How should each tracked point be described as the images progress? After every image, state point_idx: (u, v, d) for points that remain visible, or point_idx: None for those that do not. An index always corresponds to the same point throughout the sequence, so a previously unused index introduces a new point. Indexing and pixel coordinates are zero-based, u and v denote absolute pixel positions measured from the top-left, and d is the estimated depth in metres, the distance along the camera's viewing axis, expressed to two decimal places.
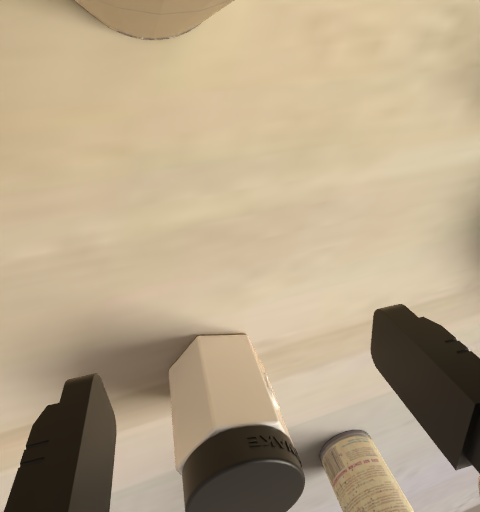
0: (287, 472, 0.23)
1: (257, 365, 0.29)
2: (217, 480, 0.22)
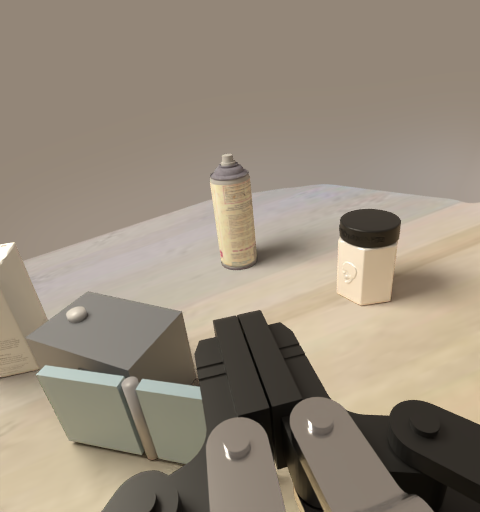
0: (361, 228, 0.49)
1: (362, 283, 0.51)
2: (395, 224, 0.49)
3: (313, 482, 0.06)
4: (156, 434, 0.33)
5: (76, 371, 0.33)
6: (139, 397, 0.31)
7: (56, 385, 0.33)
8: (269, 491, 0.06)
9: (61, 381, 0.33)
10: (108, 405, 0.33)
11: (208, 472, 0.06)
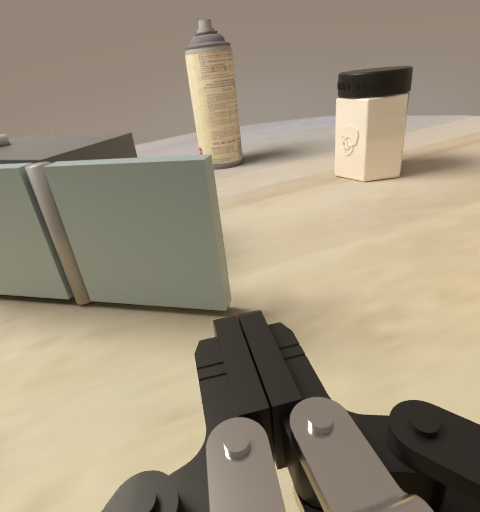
0: (364, 72, 0.40)
1: (366, 148, 0.42)
2: (406, 67, 0.40)
3: (313, 482, 0.06)
4: (82, 253, 0.23)
5: None
6: (50, 182, 0.21)
7: None
8: (269, 491, 0.06)
9: None
10: (13, 211, 0.23)
11: (208, 472, 0.06)
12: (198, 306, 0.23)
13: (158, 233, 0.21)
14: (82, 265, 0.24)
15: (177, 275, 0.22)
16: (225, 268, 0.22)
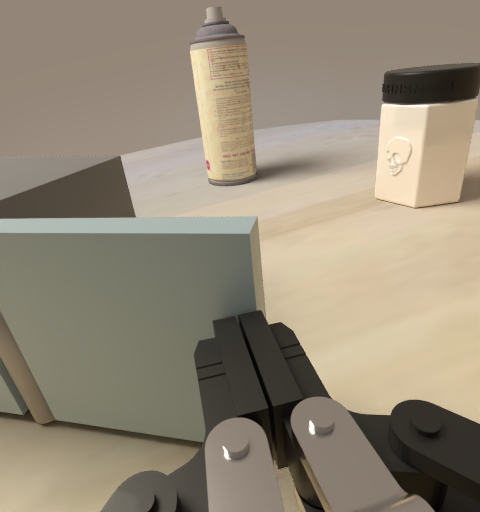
0: (423, 70, 0.31)
1: (420, 167, 0.33)
2: (476, 64, 0.31)
3: (314, 481, 0.06)
4: (37, 359, 0.15)
5: None
6: None
7: None
8: (268, 491, 0.06)
9: None
10: None
11: (207, 472, 0.06)
12: None
13: (161, 342, 0.13)
14: (39, 375, 0.15)
15: (192, 400, 0.14)
16: None
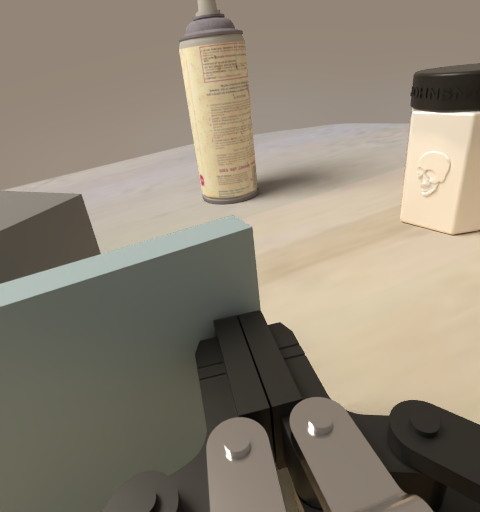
0: (467, 70, 0.25)
1: (461, 188, 0.27)
2: None
3: (313, 482, 0.06)
4: None
5: None
6: None
7: None
8: (270, 491, 0.06)
9: None
10: None
11: (208, 472, 0.06)
12: None
13: (163, 386, 0.11)
14: None
15: (198, 436, 0.12)
16: None
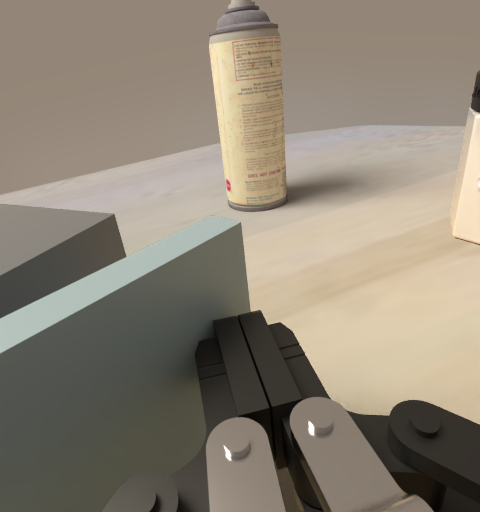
0: None
1: None
2: None
3: (313, 482, 0.06)
4: None
5: None
6: None
7: None
8: (269, 491, 0.06)
9: None
10: None
11: (208, 472, 0.06)
12: None
13: (175, 400, 0.10)
14: None
15: None
16: None
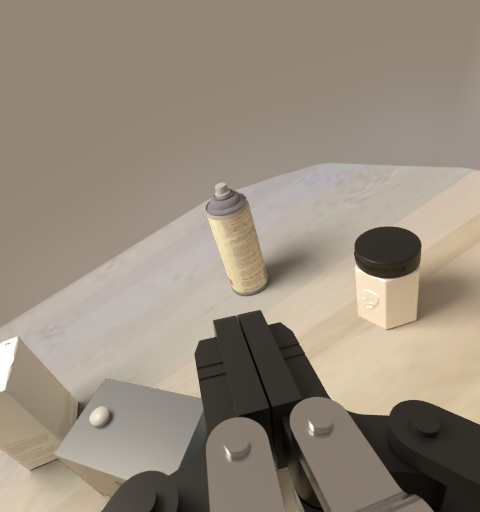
0: (380, 259, 0.45)
1: (386, 310, 0.49)
2: (416, 249, 0.45)
3: (313, 482, 0.06)
4: None
5: None
6: None
7: None
8: (269, 491, 0.06)
9: None
10: None
11: (208, 472, 0.06)
12: None
13: None
14: None
15: None
16: None
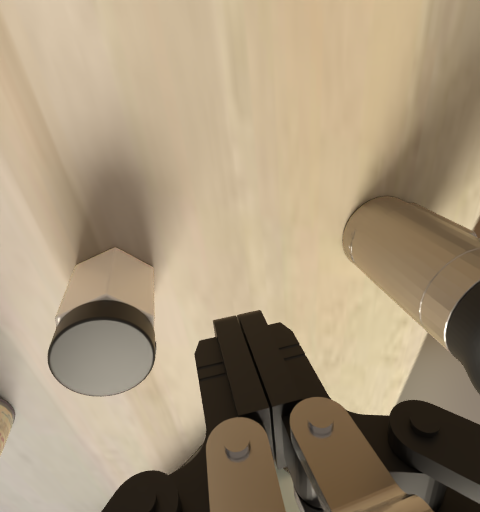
0: (135, 379, 0.30)
1: None
2: (139, 335, 0.28)
3: (313, 482, 0.06)
4: None
5: None
6: None
7: None
8: (269, 491, 0.06)
9: None
10: (287, 504, 0.52)
11: (208, 472, 0.06)
12: None
13: None
14: None
15: None
16: None
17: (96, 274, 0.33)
